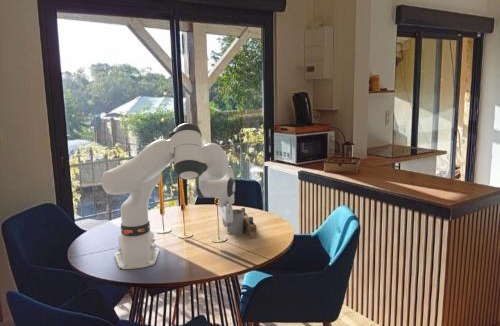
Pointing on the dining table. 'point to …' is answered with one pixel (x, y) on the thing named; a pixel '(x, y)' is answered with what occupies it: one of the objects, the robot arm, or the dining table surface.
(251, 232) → the stop fence
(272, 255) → the dining table surface
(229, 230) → the cup
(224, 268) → the dining table surface
